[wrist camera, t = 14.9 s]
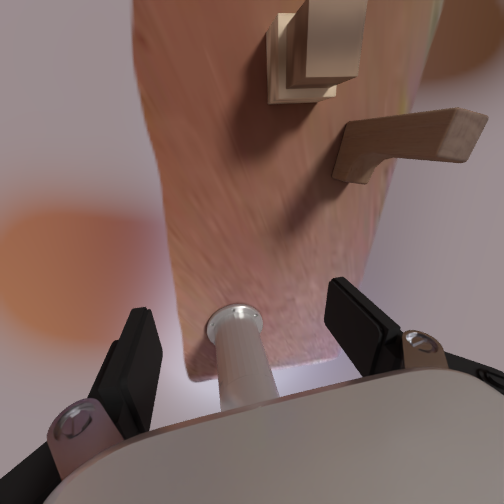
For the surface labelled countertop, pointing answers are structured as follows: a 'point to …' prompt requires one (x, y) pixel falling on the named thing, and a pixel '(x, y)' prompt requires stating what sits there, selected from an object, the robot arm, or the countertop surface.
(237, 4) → the countertop surface
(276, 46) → the oak block
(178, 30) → the countertop surface
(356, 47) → the walnut cube
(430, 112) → the wooden block
